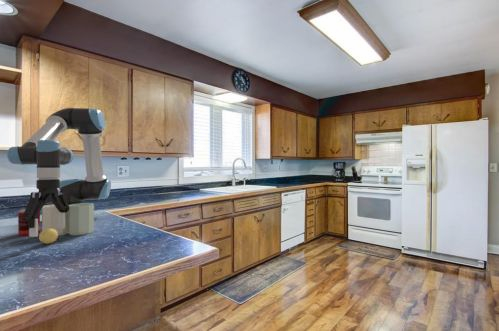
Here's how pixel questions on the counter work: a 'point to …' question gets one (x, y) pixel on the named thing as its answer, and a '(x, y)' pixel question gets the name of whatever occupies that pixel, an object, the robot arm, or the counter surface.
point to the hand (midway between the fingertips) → (48, 232)
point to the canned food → (25, 223)
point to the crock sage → (81, 219)
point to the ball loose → (48, 236)
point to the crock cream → (53, 219)
